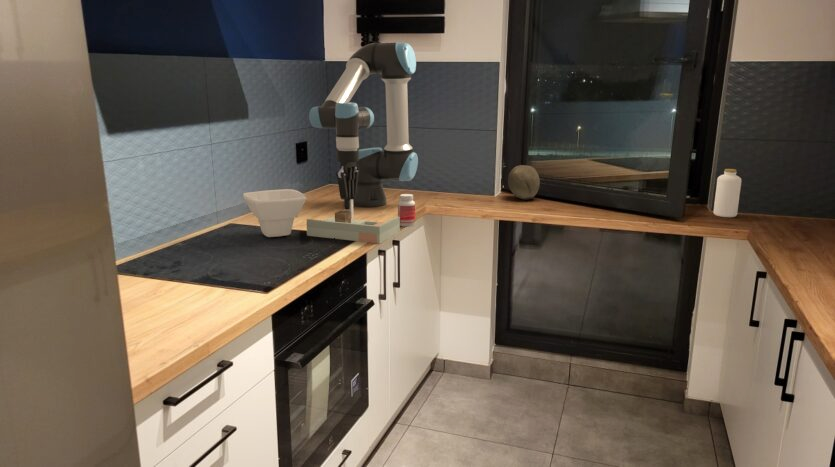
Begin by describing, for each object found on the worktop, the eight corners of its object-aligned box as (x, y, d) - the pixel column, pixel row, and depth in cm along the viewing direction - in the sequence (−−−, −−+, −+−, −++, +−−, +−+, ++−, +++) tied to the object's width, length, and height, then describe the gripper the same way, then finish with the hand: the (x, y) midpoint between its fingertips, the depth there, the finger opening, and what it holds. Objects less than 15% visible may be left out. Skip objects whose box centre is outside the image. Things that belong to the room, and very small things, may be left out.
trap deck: (330, 225, 225) (330, 210, 224) (399, 232, 216) (399, 216, 214) (307, 235, 211) (306, 219, 210) (379, 243, 201) (379, 226, 200)
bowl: (255, 245, 198) (252, 202, 195) (242, 232, 215) (239, 192, 212) (312, 239, 207) (310, 197, 203) (295, 226, 223) (293, 188, 220)
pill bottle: (418, 225, 225) (418, 195, 223) (404, 227, 222) (403, 197, 219) (409, 222, 230) (409, 192, 228) (394, 224, 227) (394, 194, 224)
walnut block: (340, 221, 217) (340, 210, 216) (350, 222, 216) (350, 211, 215) (335, 224, 214) (334, 212, 213) (345, 225, 212) (345, 213, 211)
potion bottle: (736, 214, 245) (742, 168, 241) (737, 218, 238) (743, 171, 234) (713, 212, 249) (718, 167, 244) (713, 216, 241) (718, 170, 237)
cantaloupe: (544, 198, 277) (545, 164, 273) (531, 203, 265) (533, 168, 262) (514, 195, 284) (515, 162, 281) (501, 200, 273) (502, 165, 269)
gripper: (346, 147, 218) (348, 213, 224) (328, 150, 206) (330, 220, 212) (366, 148, 215) (367, 215, 221) (348, 151, 204) (349, 222, 209)
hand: (349, 217), depth 217 cm, fingers closed
